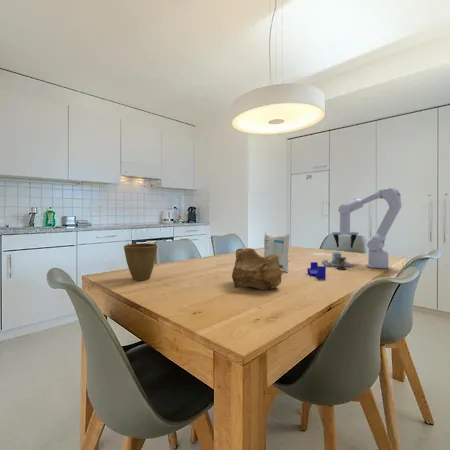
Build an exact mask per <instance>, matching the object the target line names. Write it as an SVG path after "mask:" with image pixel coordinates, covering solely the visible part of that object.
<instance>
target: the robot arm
mask: <svg viewBox="0 0 450 450" xmlns="http://www.w3.org/2000/svg"><path fill="white" fill-rule="evenodd" d="M401 197H402V196H401V193H400V192H399V190H398V189H396V188H394V187H393V188H392V187H384V188H383V189H379V190H377V191H375V192H373V193H371V194H369V195H367V196H365V197H363V198H361V199H360V198H353V200H351V201H348V202H346V203H345V204H343V203H342V204H341V205H339V206H338V213H339V231H331V236H333V238H334V241H335V243H336V248H339V243H340V241H339V239H340V238H339V236H350V249H353V247H354V244H355V241H356V239H357V237H358V236H359V232H357V231H351V213H352V212H356V211H357V210H359V209H361V208H363V207H364V205H365V204H369V203H371V202H373V201H375V200H378V199H382V200H385V202H386V203H387V204H388V207H389V208H388V209H387V211H386V214H385V215H384V216H383V218H382V221H381V223H380V225H379V227H378V229H377V230H376V233H375V234H373V236H372V238H371V239H369V240H368V241H367V243H366V246H367V248H368V258H367V259H368V262H367V263H368V264H367V263H366V264H365V266H367V267H369V268H371V269H373V268H375V269H376V268H378V269H389V268H390V267H389V253H388V251H386V250H385V251H384V249H383V248H384V247H385V242H386V240H387V239H386V238H387V235H388V233H389V231H390V229H391V228H392V226H393V224H394V222H395V220H396V219H397V215H398V214H399V213H400V211H401V209H402V199H401Z"/></svg>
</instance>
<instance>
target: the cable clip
mask: <svg viewBox="0 0 450 450" xmlns="http://www.w3.org/2000/svg"><path fill="white" fill-rule="evenodd" d="M326 269H327V267H326V266H325V265H319V263H318V262H317V261H311V262H310V267H307V275H309V276H311V277H315V278H316V279H317V280H326V275H327V274H326V271H327V270H326Z"/></svg>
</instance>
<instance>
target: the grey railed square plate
mask: <svg viewBox="0 0 450 450" xmlns="http://www.w3.org/2000/svg"><path fill="white" fill-rule="evenodd" d="M321 263H322V265H323V266H325V267H326V268H336V267H338V266H339V264H334V263H333V262H332V260H329V258H324V260H321ZM344 267H346V268H351V267H354V265H352V264H351V263H350V261H348V260H347V259H344Z"/></svg>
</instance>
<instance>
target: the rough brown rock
mask: <svg viewBox="0 0 450 450" xmlns="http://www.w3.org/2000/svg"><path fill="white" fill-rule="evenodd" d="M231 278H232V281H233V284H234V286H235V288H243V287H251V288H254V289H258V290H261V291H267V290H271V289H274V288H277V287H279V286H280V285H281V283H282V269H280V267H279V258H278V256H277V255H275V254H271V255H269V256H267V257H266V258H264V256H262V255H260V254H258V252H257V251H256V250H255V248H251V247H250V248H249V247H248V248H237V249H236V250H235V262H234V267H233V268H232V273H231Z"/></svg>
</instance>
